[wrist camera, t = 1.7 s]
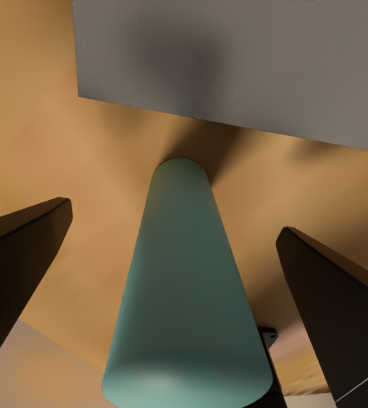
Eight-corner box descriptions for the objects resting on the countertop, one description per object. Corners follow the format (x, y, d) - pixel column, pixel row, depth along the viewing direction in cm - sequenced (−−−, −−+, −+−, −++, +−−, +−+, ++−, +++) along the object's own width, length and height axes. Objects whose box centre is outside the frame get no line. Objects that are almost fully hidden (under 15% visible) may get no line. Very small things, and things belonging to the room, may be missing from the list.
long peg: (201, 213, 13) (241, 419, 5) (148, 206, 12) (102, 417, 5) (214, 163, 11) (303, 351, 3) (154, 153, 11) (99, 339, 3)
